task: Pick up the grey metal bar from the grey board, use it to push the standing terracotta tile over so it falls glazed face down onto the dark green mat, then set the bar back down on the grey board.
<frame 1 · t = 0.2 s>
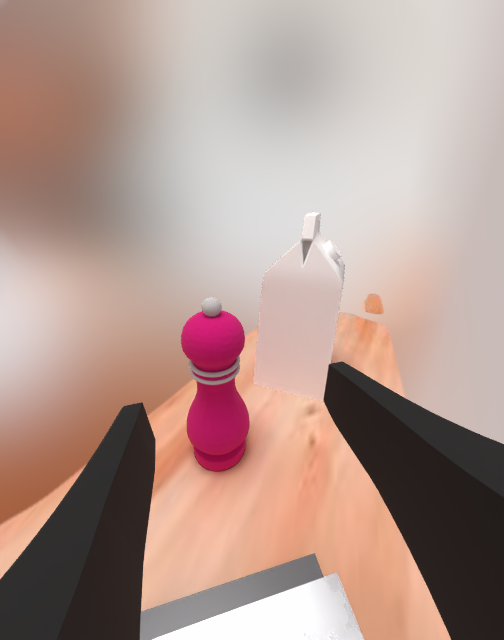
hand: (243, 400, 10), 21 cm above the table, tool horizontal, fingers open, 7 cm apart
pepper mill: (220, 448, 31), on the table
milk: (294, 371, 45), on the table
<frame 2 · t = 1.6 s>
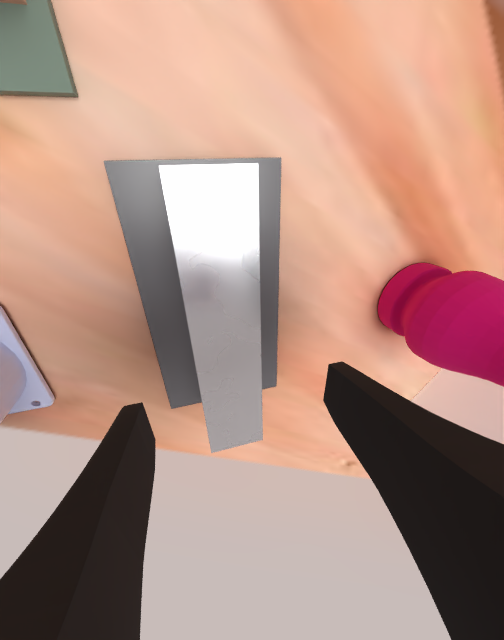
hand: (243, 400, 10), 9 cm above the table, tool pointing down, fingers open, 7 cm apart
board: (214, 302, 18), on the table
pepper mill: (406, 295, 22), on the table
milk: (453, 390, 32), on the table
bar: (215, 307, 17), point 1 cm above the table, touching board
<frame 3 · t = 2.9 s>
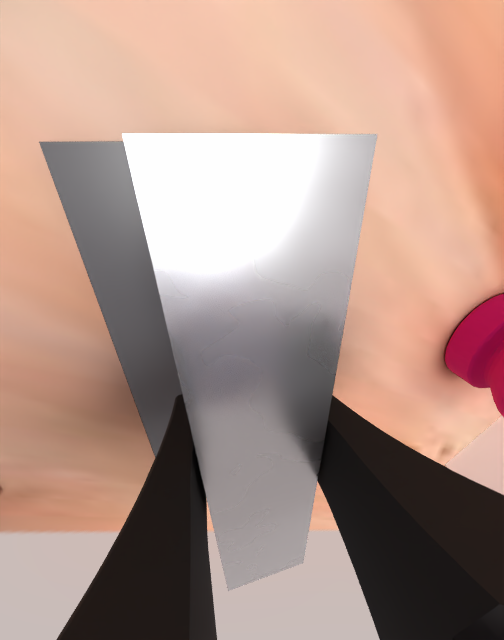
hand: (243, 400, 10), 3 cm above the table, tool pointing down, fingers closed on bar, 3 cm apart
board: (230, 356, 12), on the table
pepper mill: (481, 333, 17), on the table
bar: (233, 366, 11), point 1 cm above the table, touching board, gripper
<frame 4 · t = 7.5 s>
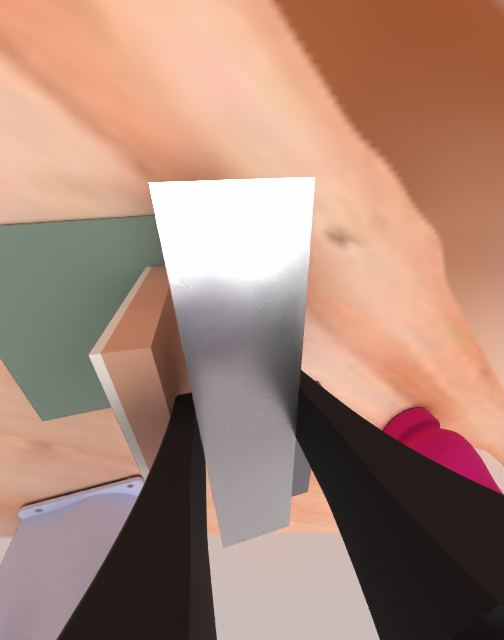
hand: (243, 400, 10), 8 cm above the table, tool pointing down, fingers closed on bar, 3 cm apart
board: (270, 452, 26), on the table
mat: (105, 325, 15), on the table
pepper mill: (403, 424, 30), on the table
milk: (441, 468, 40), on the table
bar: (228, 354, 13), point 4 cm above the table, touching gripper
tile: (173, 321, 15), point 1 cm above the table, touching mat
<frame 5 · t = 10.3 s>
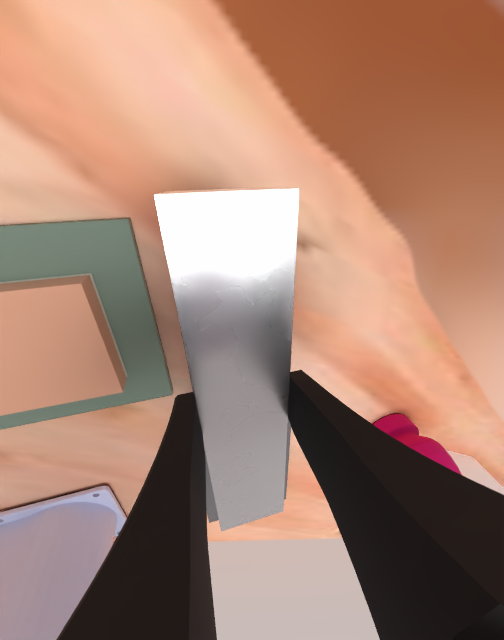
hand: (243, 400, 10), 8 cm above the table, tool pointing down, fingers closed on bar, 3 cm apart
board: (244, 459, 25), on the table
mat: (57, 332, 15), on the table
pepper mill: (383, 430, 30), on the table
milk: (426, 474, 40), on the table
bar: (225, 349, 14), point 3 cm above the table, touching gripper
tile: (108, 337, 14), point 1 cm above the table, tilted 90°, touching mat
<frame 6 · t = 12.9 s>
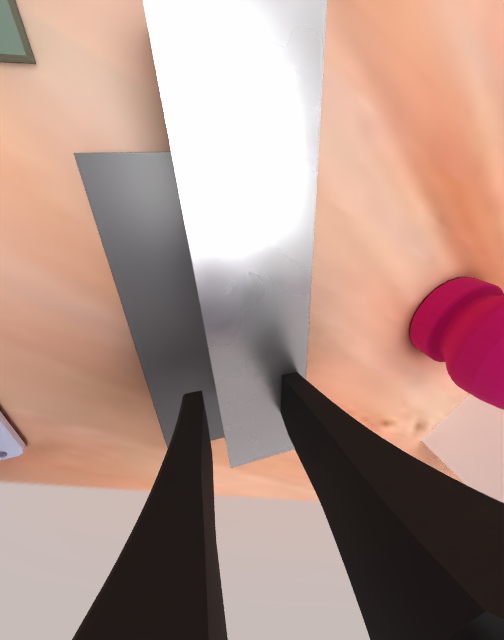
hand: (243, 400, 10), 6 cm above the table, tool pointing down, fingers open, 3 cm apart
board: (220, 328, 14), on the table
pepper mill: (442, 314, 19), on the table
milk: (481, 413, 29), on the table
bar: (229, 261, 12), point 1 cm above the table, touching board, gripper
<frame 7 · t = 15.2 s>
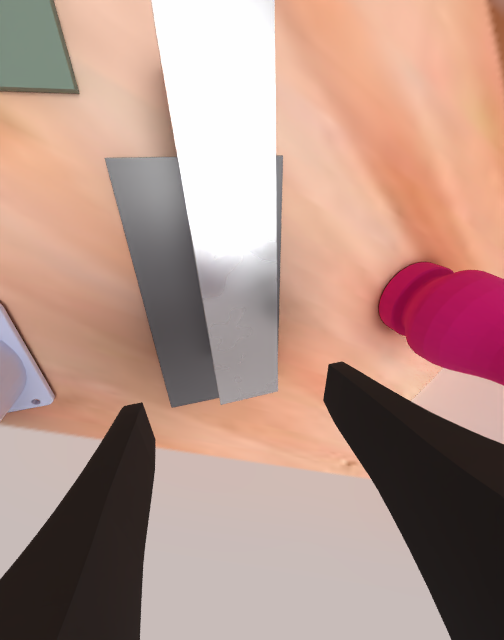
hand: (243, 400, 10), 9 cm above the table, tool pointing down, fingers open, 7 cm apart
board: (215, 301, 18), on the table
pepper mill: (407, 295, 22), on the table
milk: (453, 390, 32), on the table
bar: (221, 243, 15), point 1 cm above the table, touching board
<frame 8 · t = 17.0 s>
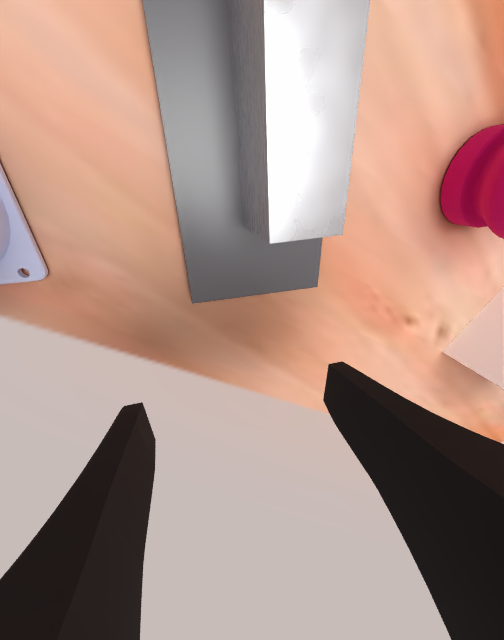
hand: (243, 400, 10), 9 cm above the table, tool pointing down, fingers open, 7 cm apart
board: (251, 148, 14), on the table
pepper mill: (473, 179, 18), on the table
milk: (503, 327, 28), on the table
bar: (268, 37, 11), point 1 cm above the table, touching board
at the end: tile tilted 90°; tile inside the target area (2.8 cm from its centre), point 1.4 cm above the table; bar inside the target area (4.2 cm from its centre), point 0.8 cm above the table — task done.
